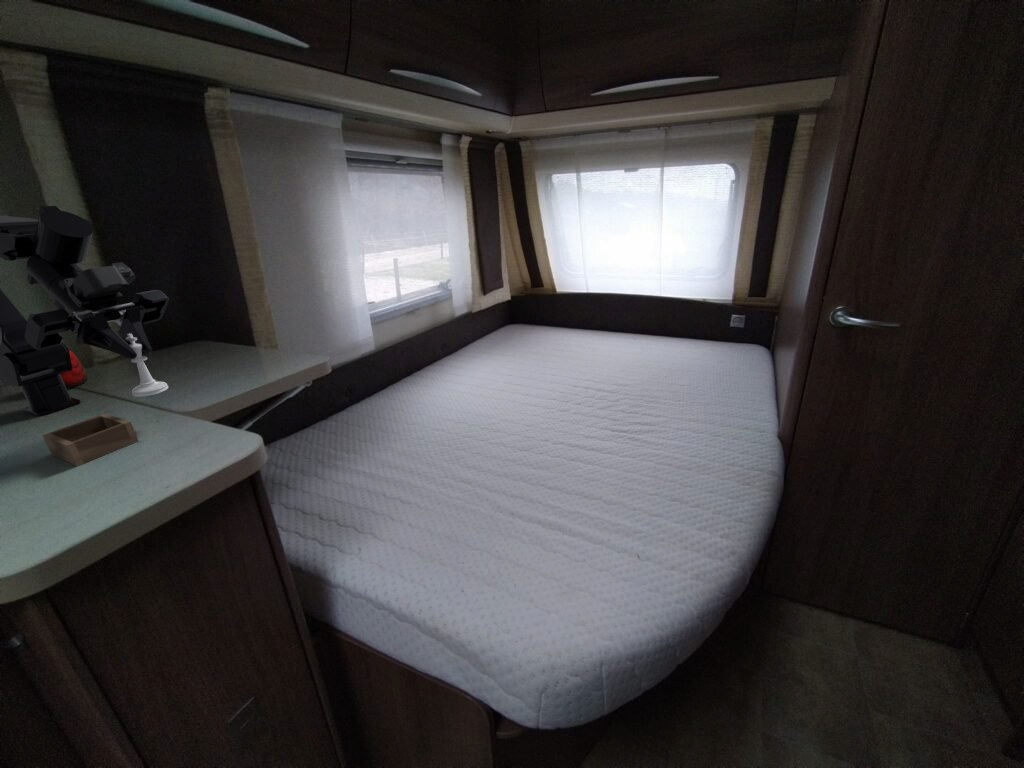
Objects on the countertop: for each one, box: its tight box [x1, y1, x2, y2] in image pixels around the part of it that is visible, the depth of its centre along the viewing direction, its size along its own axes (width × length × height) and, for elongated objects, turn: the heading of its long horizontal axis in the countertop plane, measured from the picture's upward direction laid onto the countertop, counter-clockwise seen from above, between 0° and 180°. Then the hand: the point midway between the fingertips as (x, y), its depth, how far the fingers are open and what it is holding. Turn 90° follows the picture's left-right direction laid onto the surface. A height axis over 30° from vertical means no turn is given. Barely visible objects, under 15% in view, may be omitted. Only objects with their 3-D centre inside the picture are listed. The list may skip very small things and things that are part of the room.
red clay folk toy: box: [60, 349, 88, 389], centre depth 95 cm, size 8×7×15 cm
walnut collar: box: [42, 413, 139, 467], centre depth 70 cm, size 8×8×4 cm
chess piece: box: [125, 334, 169, 398], centre depth 74 cm, size 5×5×10 cm
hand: (142, 354), depth 73 cm, fingers closed on chess piece
